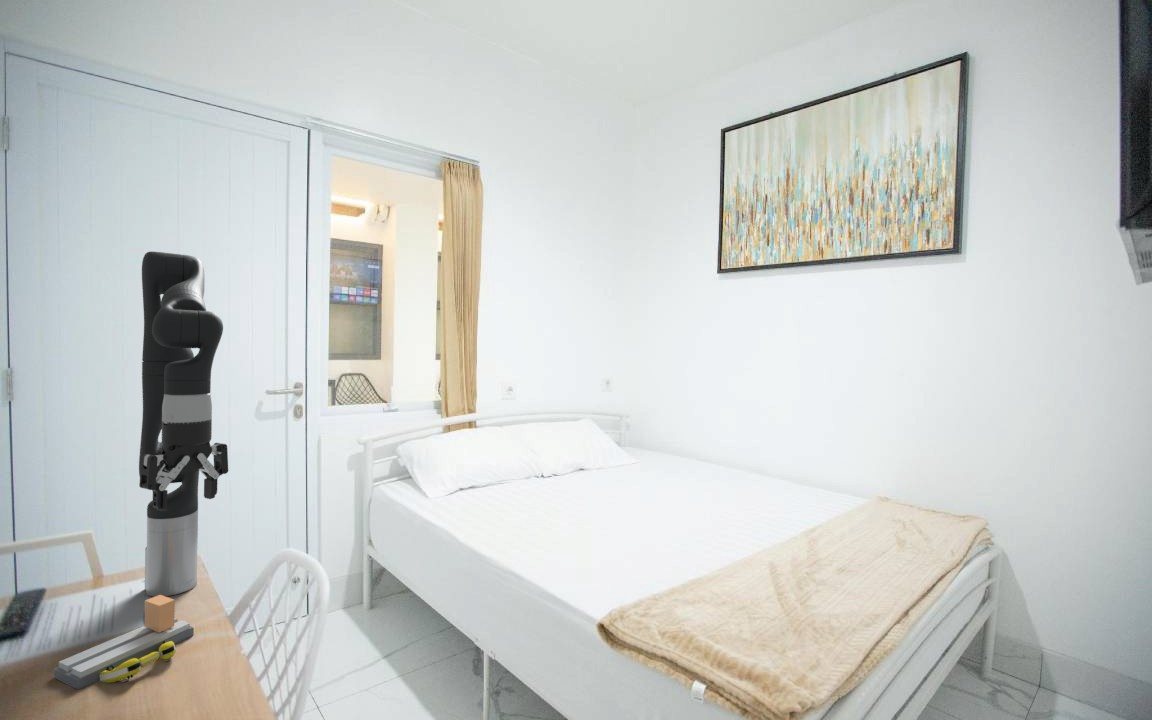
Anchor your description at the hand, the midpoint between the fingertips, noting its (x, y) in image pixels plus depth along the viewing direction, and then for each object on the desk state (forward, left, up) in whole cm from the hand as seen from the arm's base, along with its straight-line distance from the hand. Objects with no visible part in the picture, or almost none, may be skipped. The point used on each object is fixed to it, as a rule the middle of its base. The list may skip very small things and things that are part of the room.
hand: (186, 504), depth 101 cm
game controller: (+3, -8, -27) cm, 28 cm away
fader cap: (-4, -2, -24) cm, 25 cm away
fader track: (-4, -7, -26) cm, 27 cm away
